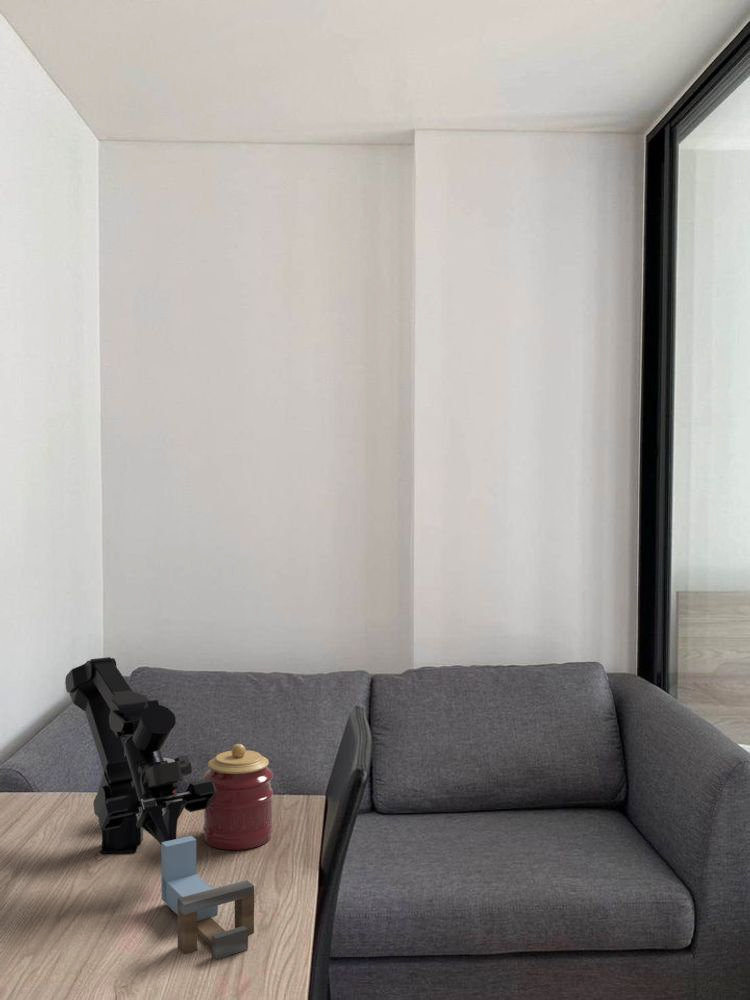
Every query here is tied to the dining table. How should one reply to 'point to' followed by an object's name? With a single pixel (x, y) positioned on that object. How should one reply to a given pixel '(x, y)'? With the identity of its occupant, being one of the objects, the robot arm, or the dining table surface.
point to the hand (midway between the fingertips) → (172, 852)
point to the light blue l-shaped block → (182, 875)
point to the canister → (239, 800)
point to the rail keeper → (208, 928)
